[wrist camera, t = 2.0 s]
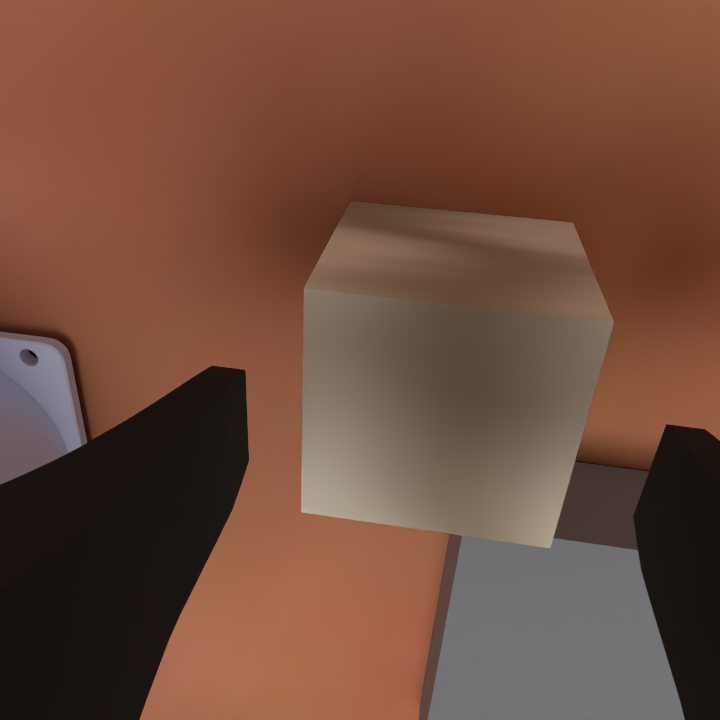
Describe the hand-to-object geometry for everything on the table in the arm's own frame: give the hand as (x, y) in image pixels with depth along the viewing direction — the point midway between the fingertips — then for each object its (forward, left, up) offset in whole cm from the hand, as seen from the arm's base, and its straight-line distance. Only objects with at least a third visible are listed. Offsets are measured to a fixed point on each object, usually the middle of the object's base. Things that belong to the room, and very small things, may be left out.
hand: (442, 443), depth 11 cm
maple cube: (0, 0, -5) cm, 5 cm away
